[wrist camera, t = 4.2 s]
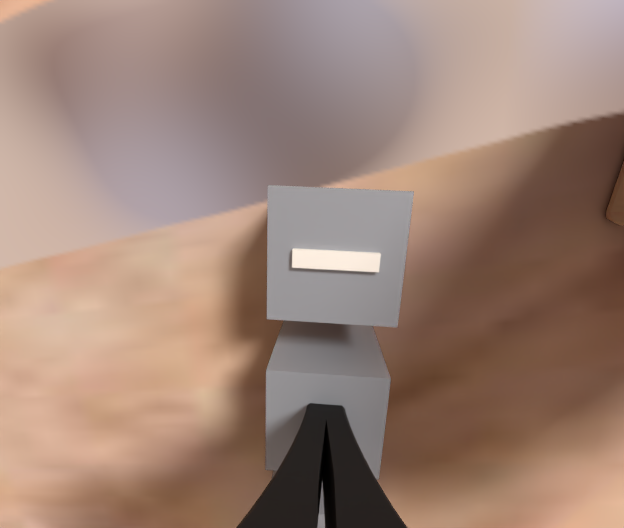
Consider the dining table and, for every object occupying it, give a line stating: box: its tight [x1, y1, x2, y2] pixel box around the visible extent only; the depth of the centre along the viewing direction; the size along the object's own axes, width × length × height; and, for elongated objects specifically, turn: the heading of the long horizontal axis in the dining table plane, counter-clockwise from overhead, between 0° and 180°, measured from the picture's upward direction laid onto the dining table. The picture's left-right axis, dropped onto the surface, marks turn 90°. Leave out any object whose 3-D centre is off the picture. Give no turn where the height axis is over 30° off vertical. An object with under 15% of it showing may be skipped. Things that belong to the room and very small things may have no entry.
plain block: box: [265, 320, 391, 479], centre depth 13 cm, size 4×4×4 cm
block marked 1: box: [267, 185, 414, 327], centre depth 11 cm, size 4×4×5 cm
